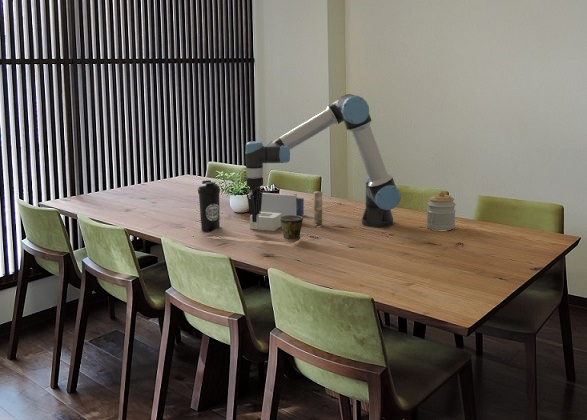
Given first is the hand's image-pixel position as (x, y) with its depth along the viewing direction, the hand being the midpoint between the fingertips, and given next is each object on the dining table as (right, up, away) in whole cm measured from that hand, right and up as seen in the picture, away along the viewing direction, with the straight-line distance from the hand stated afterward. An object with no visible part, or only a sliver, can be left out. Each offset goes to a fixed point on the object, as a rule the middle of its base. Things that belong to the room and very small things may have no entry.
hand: (255, 228), depth 316 cm
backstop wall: (+6, 0, +16) cm, 17 cm away
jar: (+85, 0, +11) cm, 86 cm away
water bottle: (-22, -1, +13) cm, 26 cm away
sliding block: (+4, 0, +11) cm, 12 cm away
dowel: (+29, +1, +19) cm, 35 cm away
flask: (+18, +6, +41) cm, 45 cm away
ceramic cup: (+16, -5, -7) cm, 18 cm away
